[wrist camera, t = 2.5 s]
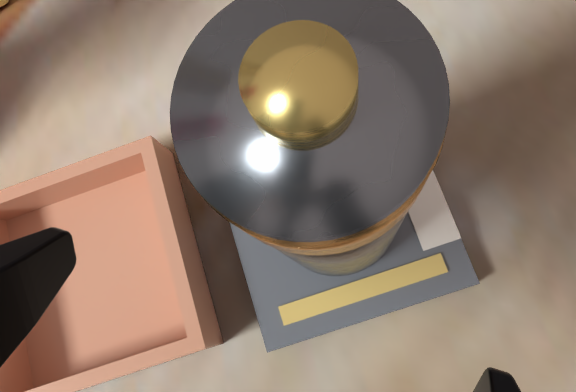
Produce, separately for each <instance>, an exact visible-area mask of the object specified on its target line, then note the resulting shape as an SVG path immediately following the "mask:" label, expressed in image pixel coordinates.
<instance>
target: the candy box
mask: <svg viewBox="0 0 576 392" xmlns="http://www.w3.org/2000/svg"><path fill="white" fill-rule="evenodd" d="M7 3H8V0H0V7H2V6H4V5H5V4H7Z"/></svg>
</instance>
